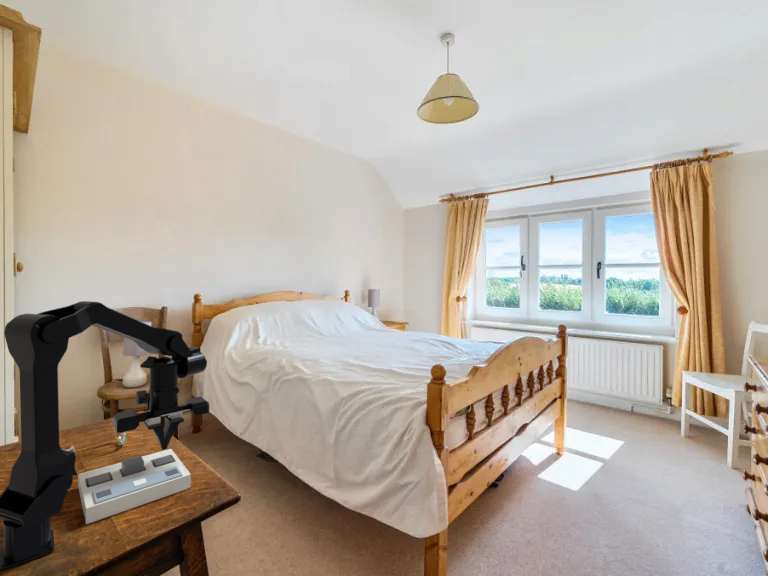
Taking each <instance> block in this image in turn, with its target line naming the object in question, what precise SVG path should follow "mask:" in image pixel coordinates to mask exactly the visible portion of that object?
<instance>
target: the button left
mask: <svg viewBox="0 0 768 576" xmlns="http://www.w3.org/2000/svg"><path fill="white" fill-rule="evenodd" d="M108 481H111V478H110V476H109V473H104V474H101V475H97V476H93V477H90V478H87V488H88V487H91V486H95V485H98V484H102V483H105V482H108Z"/></svg>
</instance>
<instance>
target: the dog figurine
mask: <svg viewBox="0 0 768 576" xmlns="http://www.w3.org/2000/svg"><path fill="white" fill-rule="evenodd" d="M61 449H62V450H64V449H63V448H61ZM65 450H66V451H70V452H74V453H76V447H74V444H73V445H71V447H70V448H68V449H65Z"/></svg>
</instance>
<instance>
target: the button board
mask: <svg viewBox="0 0 768 576" xmlns="http://www.w3.org/2000/svg"><path fill="white" fill-rule="evenodd" d="M167 455H170V456H171V457H172V459H173V460H174V462H172V463H169V464H166V465H162V466H159V467H154V466H153V459H157V458H160V457H164V456H167ZM141 457H142V459H143V461H144V471H142V472H139V473H135V474H132V475H128V476H125V477H123V475H122V461H121V462H118V463H117V462H116V463H114V464H110V465H107V466H102V467H100V468H96V469H91V470H89V471H84V472H81V473H77V475H78V477H77V478H78V479H77V480H78V484H77V487H78V493H79V496H80V497H79V498H80V502H81V507H82V511H83V516H84V521H85V525H88V524H91V523H96V522H98V521H100V520H102V519H105V518H108V517H111V516H114V515H117V514H119V513H123V512H125V511H129V510H131V509H134V508H136V507H139V506H142V505H143V506H144V505H145V504H149V503H151V502H154V501H156V500H157V501H158V500H160V499H162V498H165V497H168V496H171V495H175V494H177V493H181V492H183V491H186V490H189V489H191V488H192V474H191V473H190V471H189V469H187V468H186V466H185V465H184V463H183V462H182V461H181V459H179V457H178V456H177V454H176V453H175V451H174V450H173V449H172V448H169V449H165V450H162V451H157V452H155V453H150V454H146V455H144V456H141ZM104 473H109V476H110V478H111V481H108V482H105V483H102V484H98V485H95V486H91V487H88V488H87V478H90V477H93V476H97V475H101V474H104ZM190 487H191V488H190ZM188 488H189V489H188Z"/></svg>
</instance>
